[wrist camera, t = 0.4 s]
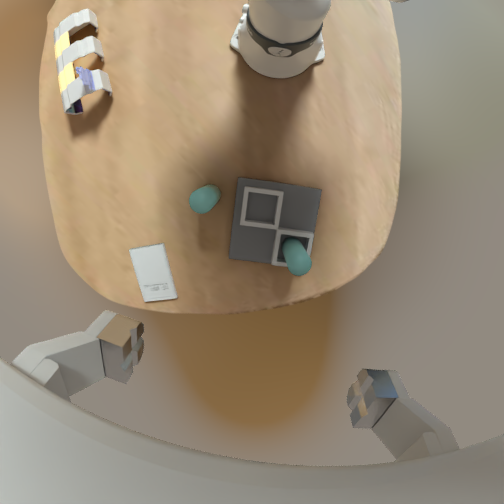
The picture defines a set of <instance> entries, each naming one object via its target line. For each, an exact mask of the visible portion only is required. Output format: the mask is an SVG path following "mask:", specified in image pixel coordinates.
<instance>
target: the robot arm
mask: <svg viewBox="0 0 504 504" xmlns="http://www.w3.org/2000/svg"><path fill="white" fill-rule="evenodd" d="M389 1H394V2H398V3H400V2H405V1H409V0H389ZM330 6H331V0H248V4H244V6H243V9H242V13H243V15H242V17H241V18H240V21H239V23H238V26H237V28H236V30H235V32H234V34H233V36H232V38H231V41H230V45H231V47H232V48H233V49H235V50H236V51H238V52H239V53H240V54H241V55H242V56H243V58H244V60H245V61H246V63H247V64H248V65H249V66H250V67H251V68H252V69H253V70H255V71H256V72H258V73H260V74H262V75H265V76H268V77H272V78H288V77H293V76H296V75H298V74H300V73H302V72H303V71H304V70H306V69H307V68H308V67H309V66H310V65H311V64H313V63H317V62H320V61H322V60H323V59H324V57H325V52H324V45H323V39H322V33H321V31H322V26H323V20H324V18H325V17H326V15H327V13H328V11H329V9H330ZM236 38H238V39H236ZM143 332H144V324H143V323H142V322H140V321H137V320H134V319H131V318H128V317H126V316H123V315H120V314H117V313H114V312H111V311H109V310H106V311H104V312H103V313H102V314H101V315H100V316H99V317H98V318H97V319H96V320H95V321H94V322H93V323H92V324H91V325H90V326H89V327H88V328H87V330H86V331H85V332H81V331H79V332H76V333H72V334H69V335H65V336H62V337H58V338H54V339H51V340H47V341H43V342H40V343H36V344H32V345H29V346H28V347H26V348H25V349H24V351H22V353H20V354H19V356H17V357H16V358H15V359H14V360H13V362H12V363H11V364H9V363H8V362H6V361H5V360H4V359H2V358H1V357H0V504H504V434H503V435H500V436H498V437H495V438H492V439H489V440H486V441H484V442H481V443H478V444H475V445H471V446H468V447H465V448H461V449H459V446H458V444H457V442H456V440H455V438H454V435H453V433H452V431H451V429H450V427H448V426H447V425H446V424H444V423H443V422H442V421H440V420H439V419H438V418H437V417H436V416H434V415H433V414H432V413H431V412H429V411H428V410H427V409H425V408H424V407H423V406H422V405H421V404H419V403H418V402H417V401H416V400H414V399H413V398H410V397H409V395H408V393H407V391H406V388H405V386H404V384H403V382H402V380H401V378H400V376H399V374H398V372H397V371H395V370H375V369H374V370H373V369H362V370H361V371H360V372H359V374H358V375H357V378H358V380H357V381H356V382H355V383H353V384H352V385H351V387H350V388H349V391H348V395H347V403H348V406H349V408H350V409H351V410H352V413H351V414H350V417H351V421H352V425H353V428H372V430H373V432H374V433H375V434H376V435H377V436H378V438H379V439H380V440H381V441H382V442H383V444H384V445H385V446H386V447H387V448H388V450H389V451H390V452H391V453H392V455H393V456H394V457H395V458H396V461H394V462H390V463H381V464H369V465H354V466H303V465H287V464H275V463H265V462H258V461H250V460H244V459H238V458H232V457H227V456H221V455H216V454H211V453H207V452H202V451H198V450H195V449H190V448H187V447H183V446H180V445H176V444H173V443H169V442H166V441H163V440H160V439H156V438H153V437H150V436H148V435H144V434H141V433H139V432H136V431H133V430H131V429H128V428H126V427H123V426H121V425H118V424H116V423H114V422H111V421H109V420H107V419H104V418H102V417H100V416H97V415H95V414H93V413H91V412H89V411H87V410H85V409H83V408H81V407H79V406H77V405H75V404H73V403H71V401H70V398H69V396H71V395H73V394H75V393H77V392H79V391H81V390H83V389H85V388H87V387H89V386H91V385H92V384H94V383H96V382H98V381H100V380H102V379H104V378H105V376H106V377H108V378H111V379H114V380H116V381H119V382H122V383H124V384H126V383H127V382H128V380H129V378H130V377H131V375H132V373H133V366H135V365H137V364H138V363H139V361H140V359H141V357H142V353H143V349H144V340H143V339H142V337H141V335H142V334H143Z"/></svg>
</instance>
